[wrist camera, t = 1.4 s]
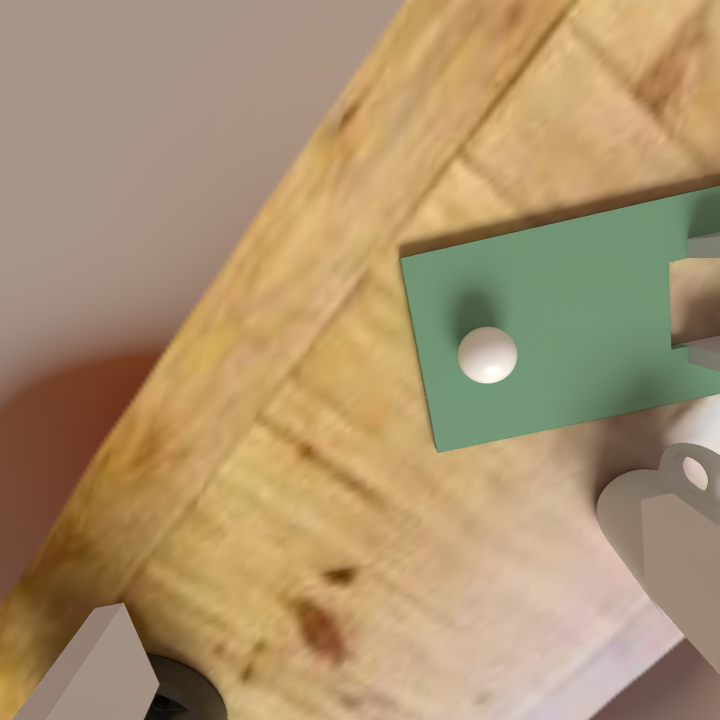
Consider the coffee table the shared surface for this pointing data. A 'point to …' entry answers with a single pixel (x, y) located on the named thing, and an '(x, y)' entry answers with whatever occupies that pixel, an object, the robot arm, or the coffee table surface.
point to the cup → (626, 491)
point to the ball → (487, 355)
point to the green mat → (559, 320)
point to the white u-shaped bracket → (711, 350)
